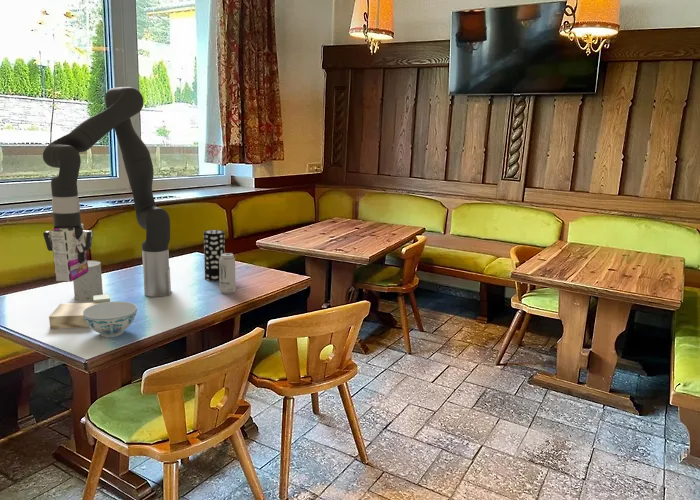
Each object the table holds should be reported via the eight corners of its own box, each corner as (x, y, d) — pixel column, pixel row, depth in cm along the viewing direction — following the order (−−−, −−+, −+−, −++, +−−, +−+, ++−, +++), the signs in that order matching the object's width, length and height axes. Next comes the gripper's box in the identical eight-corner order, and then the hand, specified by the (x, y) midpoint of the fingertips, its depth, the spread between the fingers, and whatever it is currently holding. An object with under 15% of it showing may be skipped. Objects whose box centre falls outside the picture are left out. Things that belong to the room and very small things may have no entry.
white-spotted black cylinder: (229, 278, 224) (228, 231, 219) (214, 282, 217) (213, 234, 212) (215, 274, 228) (214, 229, 224) (200, 278, 221) (199, 232, 217)
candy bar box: (73, 271, 173) (69, 222, 170) (89, 272, 173) (85, 223, 169) (54, 281, 162) (49, 229, 159) (70, 282, 162) (65, 230, 159)
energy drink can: (216, 292, 205) (215, 255, 201) (226, 288, 210) (226, 251, 206) (228, 295, 202) (227, 257, 198) (238, 291, 207) (238, 254, 204)
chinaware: (76, 342, 155) (73, 317, 153) (97, 323, 170) (95, 300, 168) (128, 343, 156) (126, 318, 154) (144, 324, 171) (143, 301, 169)
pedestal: (100, 313, 178) (99, 302, 177) (92, 326, 167) (91, 315, 166) (61, 315, 175) (60, 303, 175) (50, 328, 164) (48, 316, 163)
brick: (110, 307, 184) (109, 294, 183) (110, 312, 180) (109, 298, 179) (94, 309, 182) (93, 295, 181) (94, 314, 178) (93, 300, 177)
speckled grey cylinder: (91, 301, 190) (89, 268, 187) (68, 298, 192) (65, 265, 189) (108, 293, 199) (106, 261, 196) (86, 290, 201) (83, 259, 198)
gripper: (94, 208, 168) (98, 259, 172) (44, 208, 165) (49, 260, 169) (88, 212, 161) (92, 265, 165) (36, 212, 158) (42, 266, 162)
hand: (71, 263), depth 167 cm, fingers closed on candy bar box, 5 cm apart
